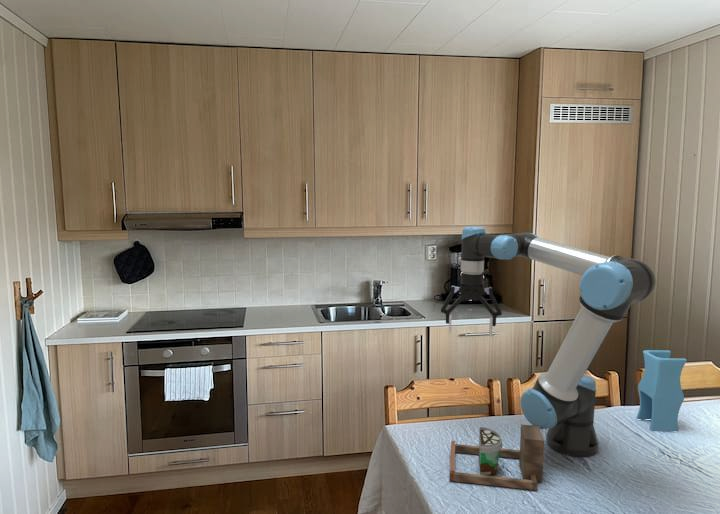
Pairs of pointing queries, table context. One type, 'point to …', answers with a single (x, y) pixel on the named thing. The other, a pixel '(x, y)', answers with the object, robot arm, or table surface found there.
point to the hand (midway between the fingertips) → (470, 334)
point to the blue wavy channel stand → (661, 390)
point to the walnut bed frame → (527, 455)
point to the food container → (489, 451)
